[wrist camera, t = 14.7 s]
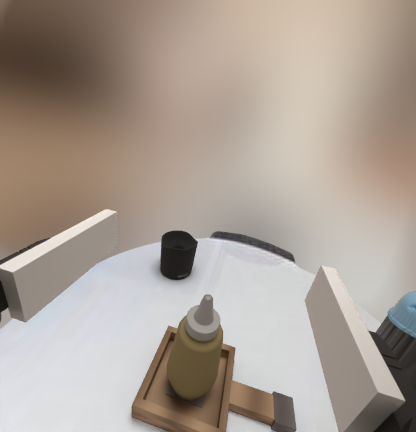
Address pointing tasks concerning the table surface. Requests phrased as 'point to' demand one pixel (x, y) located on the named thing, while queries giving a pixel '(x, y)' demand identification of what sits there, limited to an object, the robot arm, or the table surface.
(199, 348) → the squeeze bottle
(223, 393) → the wooden tray with handle
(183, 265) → the pen holder
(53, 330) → the table surface
